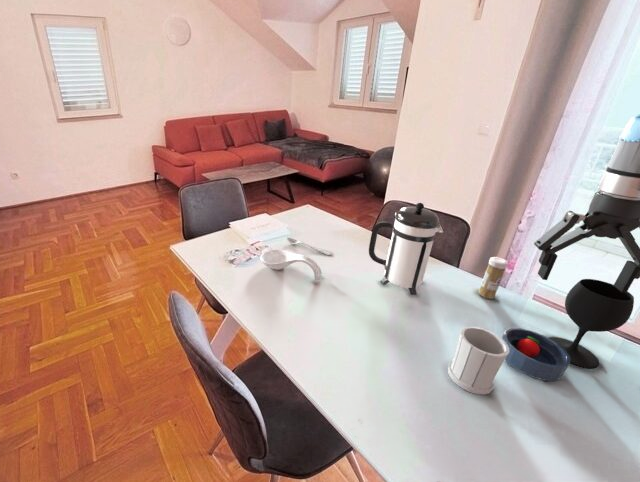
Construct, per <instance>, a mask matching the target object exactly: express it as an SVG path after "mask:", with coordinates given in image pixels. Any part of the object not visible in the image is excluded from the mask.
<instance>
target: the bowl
mask: <svg viewBox="0 0 640 482" xmlns="http://www.w3.org/2000/svg"><path fill="white" fill-rule="evenodd" d="M527 336H530V337H533V338H535V339H536V340H538V341H539V342H540V343H539V345H538V346H539V348H540V352H539V354H538V355H536V356H531V357H528V356H526V355H524V354H523V353H521V352H520V351H519V349H518V347H517V344H518V342H519V341H520V340H521V339H526V337H527ZM501 338H502V339H503V340H504V341H505V342H506V343H507V345H508V347H509V354H508V356H507V357H506V359H505V360H504V361H506V362H507V363H508V364H509V365H511V366H512V367H514V368H515V369H517V370H518V371H520V372H522V373H524V374H526V375H528V376H530V377H532V378H536V379H539V380H543V381H558V380H559V379H561V378H563V376H564V375H565V374H566V371H567V370H568V368H569V366H570V365H571V364H570V357H569V355H568V354H567V352H566V351H565V350H564V349H563V348H562V347H561V346H559V345H558V344H557V343H556V342H554V341H552V340H550V339H549V337H547V336H545V335H543V334H541V333H538V332H535V331H533V330H529V329H526V328H520V327H519V328H517V327H516V328H515V327H513V328H512V327H511V328H508V329H506V330H505V331H504V332H503V335H502V337H501Z"/></svg>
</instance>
